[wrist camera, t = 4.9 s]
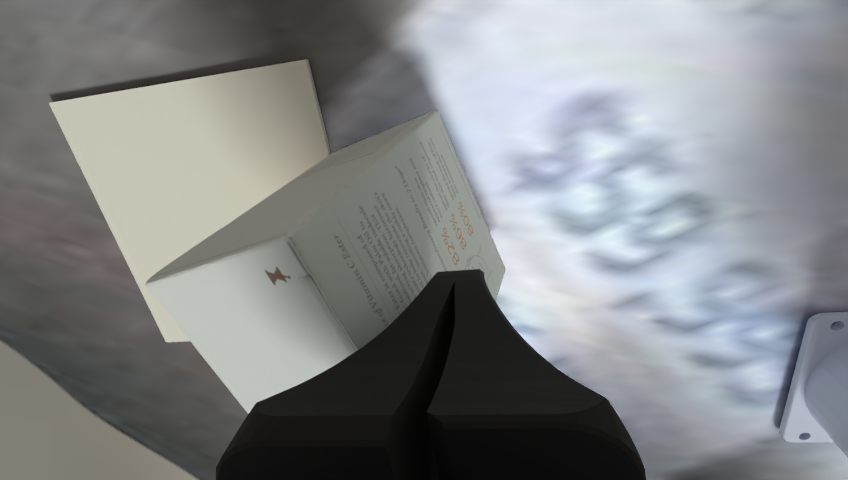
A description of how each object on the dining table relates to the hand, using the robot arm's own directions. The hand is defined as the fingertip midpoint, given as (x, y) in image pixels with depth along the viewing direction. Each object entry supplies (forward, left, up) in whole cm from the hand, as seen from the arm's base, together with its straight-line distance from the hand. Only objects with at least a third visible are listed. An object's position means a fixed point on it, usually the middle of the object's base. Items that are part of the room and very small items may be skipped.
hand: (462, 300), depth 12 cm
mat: (+13, 0, -8) cm, 15 cm away
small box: (+2, 0, -8) cm, 8 cm away
